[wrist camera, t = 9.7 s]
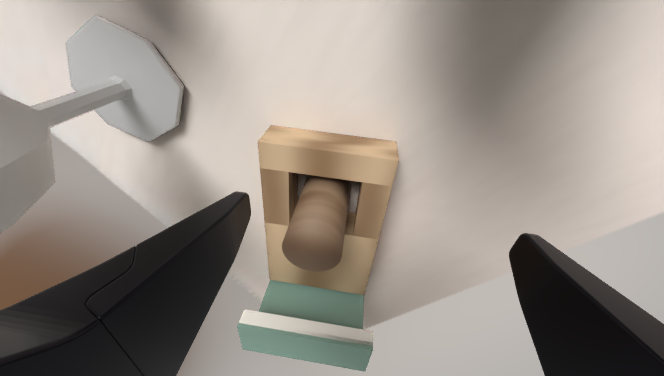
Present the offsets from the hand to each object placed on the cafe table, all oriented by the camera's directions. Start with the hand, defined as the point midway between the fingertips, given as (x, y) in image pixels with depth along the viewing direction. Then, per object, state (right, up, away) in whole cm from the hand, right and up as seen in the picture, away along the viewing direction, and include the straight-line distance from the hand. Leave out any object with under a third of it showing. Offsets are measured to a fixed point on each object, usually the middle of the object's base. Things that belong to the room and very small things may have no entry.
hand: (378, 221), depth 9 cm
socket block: (-2, -1, +17) cm, 17 cm away
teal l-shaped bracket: (-3, -7, +22) cm, 23 cm away
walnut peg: (-2, +2, +15) cm, 15 cm away
